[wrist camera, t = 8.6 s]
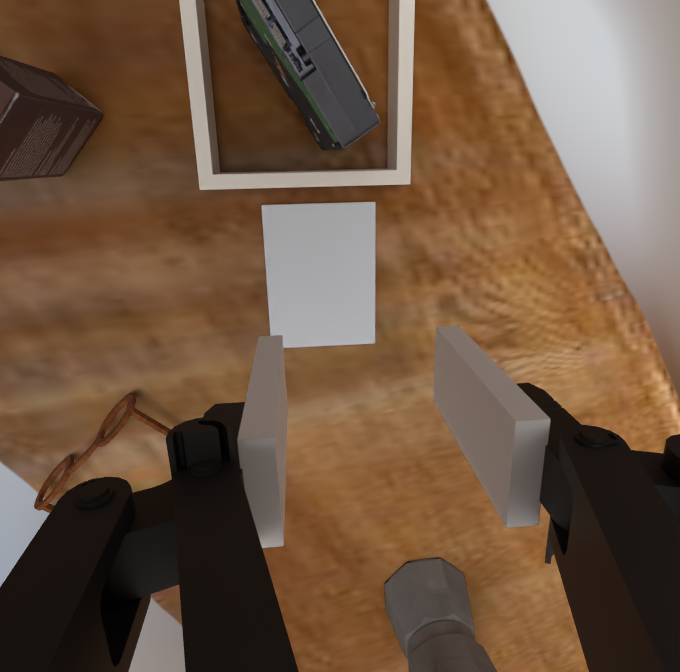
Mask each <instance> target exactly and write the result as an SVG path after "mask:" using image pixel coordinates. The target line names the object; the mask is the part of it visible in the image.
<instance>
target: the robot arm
mask: <svg viewBox="0 0 680 672" xmlns="http://www.w3.org/2000/svg"><path fill="white" fill-rule="evenodd" d="M433 401H434V403H435V405H436V406H437V408H438V410H439V412H440V413H441V415H442V417H443V419H444V420H445V422H446V424H447V426H448V427H449V429H450V431H451V433H452V434H453V436H454V438H455V440H456V441H457V443H458V445H459V447H460V448H461V450H462V452H463V453H464V455H465V457H466V459H467V460H468V462H469V464H470V466H471V467H472V469H473V471H474V473H475V474H476V476H477V478H478V480H479V481H480V483H481V485H482V487H483V488H484V490H485V492H486V494H487V495H488V497H489V499H490V500H491V502H492V504H493V506H494V507H495V509H496V511H497V513H498V514H499V516H500V518H501V520H502V521H503V523H504V525H505V527H506V528H509V527H521V526H534V525H538V524H539V515H540V507H541V503H542V505H543V506H544V508H545V509H546V510H547V512H548V513H549V515H550V523H549V531H548V539H547V547H546V555H545V563H548V564H551V556H552V555H553V554H554V555H555V558H556V562H557V565H558V568H559V572H560V575H561V578H562V582H563V585H564V589H565V592H566V595H567V599H568V602H569V605H570V609H571V612H572V616H573V619H574V622H575V626H576V629H577V632H578V636H579V639H580V643H581V646H582V649H583V653H584V656H585V659H586V663H587V666H588V669H589V672H680V434H678V435H673V436H670V437H669V438H668V439H667V440H666V443H665V448H664V453H663V454H662V453H653V452H643V451H634V450H631V449H630V448H629V446H628V445H627V443H626V442H625V441H624V440H623V439H622V438H621V437H620V436H619V435H617V434H615V433H613V432H611V431H609V430H606V429H603V428H600V427H596V426H589V425H581V424H580V423H579V422H578V421H577V420H576V419H575V418H574V417H573V416H571V415H570V414H569V413H568V412H567V411H566V410H565V409H564V408H561V405H560V404H558V403H557V402H556V401H554V399H553V398H552V397H551V396H550V395H549V394H548V393H547V392H545V391H544V390H543V389H540V388H538V387H536V386H534V385H532V384H530V383H519V384H516V383H515V382H514V381H513V380H512V379H511V378H510V377H509V376H508V375H507V374H506V373H505V372H504V371H503V370H502V369H501V368H500V367H499V366H498V365H497V364H496V363H495V362H494V361H493V360H492V359H491V358H490V357H489V356H488V355H487V354H486V353H485V352H484V351H483V350H482V349H481V348H480V347H479V346H478V345H477V344H476V343H475V342H474V341H473V340H472V339H471V338H470V337H469V336H468V335H467V334H466V333H465V332H464V331H463V330H462V329H461V328H460V327H459V326H458V325H456V326H438V327H436V334H435V365H434V397H433ZM287 417H288V407H287V393H286V379H285V365H284V351H283V336H282V335H274V336H259V338H258V343H257V348H256V353H255V358H254V362H253V367H252V372H251V377H250V382H249V386H248V391H247V396H246V401H245V402H239V403H224V404H215V405H214V406H213V407H211V408H210V409H209V410H208V411H207V412H206V413H205V414H204V416H203V418H196V419H193V420H189V421H185V422H183V423H181V424H179V425H177V426H175V427H174V428H173V429H172V430H170V431H169V432H168V434H167V437H166V443H167V450H168V456H169V462H170V469H171V475H172V480H170V481H168V482H166V483H164V484H162V485H159V486H156V487H153V488H149V489H145V490H142V491H138V492H134V493H132V489H131V486H130V484H129V483H128V482H127V480H124V479H121V478H118V477H103V478H95V479H91V480H88V481H85V482H83V483H81V484H79V485H77V486H75V487H74V488H72V489H70V490H69V491H67V492H66V493H65V494H64V495H63V496H62V497H61V498H60V499H59V501H58V502H57V504H56V505H55V507H54V508H53V510H52V511H51V512H50V514H49V515H48V517H47V518H46V520H45V521H44V523H43V524H42V526H41V528H40V529H39V530H38V532H37V533H36V535H35V536H34V538H33V539H32V541H31V542H30V544H29V545H28V547H27V548H26V550H25V551H24V553H23V554H22V556H21V557H20V559H19V560H18V562H17V563H16V565H15V566H14V568H13V569H12V571H11V572H10V574H9V575H8V577H7V578H6V580H5V581H4V583H3V584H2V586H1V587H0V672H128V671H129V668H130V664H131V661H132V658H133V655H134V651H135V648H136V645H137V642H138V639H139V635H140V632H141V629H142V625H143V622H144V619H145V616H146V613H147V609H148V606H149V603H150V598H151V594H152V593H155V592H158V591H161V590H164V589H167V588H170V587H173V586H176V585H179V586H180V600H181V614H182V627H183V641H184V654H185V669H186V672H298V668H297V665H296V661H295V658H294V655H293V651H292V648H291V644H290V641H289V638H288V634H287V631H286V627H285V624H284V621H283V617H282V614H281V611H280V607H279V604H278V600H277V597H276V594H275V590H274V587H273V583H272V580H271V577H270V573H269V570H268V567H267V563H266V560H265V556H264V553H263V550H262V548H266V547H279V546H284V513H285V481H286V449H287Z"/></svg>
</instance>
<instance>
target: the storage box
mask: <svg viewBox="0 0 680 672" xmlns="http://www.w3.org/2000/svg"><path fill="white" fill-rule="evenodd" d="M179 3H180V12H181V21H182V31H183V40H184V49H185V58H186V68H187V77H188V86H189V95H190V104H191V114H192V123H193V132H194V141H195V151H196V160H197V169H198V178H199V188H200V190H215V189H252V188H289V187H327V186H364V185H402V184H410V174H411V134H412V94H413V53H414V13H415V0H389V34H388V133H387V169H347V170H306V171H264V172H223V173H220V165H219V154H218V144H217V133H216V122H215V112H214V101H213V91H212V80H211V69H210V59H209V48H208V38H207V27H206V16H205V6H204V0H179Z"/></svg>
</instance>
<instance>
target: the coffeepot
mask: <svg viewBox="0 0 680 672" xmlns="http://www.w3.org/2000/svg"><path fill="white" fill-rule="evenodd" d="M384 586H385V602H386V611H387V614H388V616H389V619H390V621H391V623H392V626H393V628H394V630H395V633H396V635H397V638H398V640H399V642H400V645H401V647H402V650H403V652H404V654H405V657H406V658H407V659H408V665H409V672H497V670H496V669H495V667H494V665H493V663H492V662H491V660H490V658H489V656H488V655H487V653H486V651H485V649H484V648H483V647H482V646H481V645H480V644H478V643H477V642H476V640H475V633H474V624H473V619H472V614H471V609H470V603H469V598H468V593H467V588H466V583H465V578H464V574H463V573H461V572H460V571H459V570H457V569H456V568H455V567H454V566H453V565H451V564H449V563H448V562H446V561H443V560H442V559H433V558H429V559H420V560H415V561H412V562H410V563H407V564H405V565H403V566H402V567H400V568H399V569H398V570H397V571H396V572H395V573H394V574H393V575H392V576H391V577H390V579H389V581H388V582H387V583H386V584H385V585H384Z"/></svg>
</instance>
